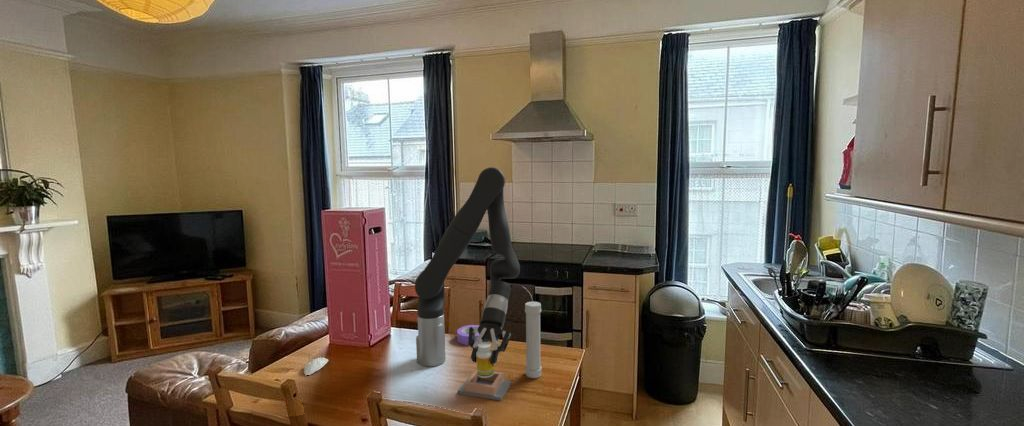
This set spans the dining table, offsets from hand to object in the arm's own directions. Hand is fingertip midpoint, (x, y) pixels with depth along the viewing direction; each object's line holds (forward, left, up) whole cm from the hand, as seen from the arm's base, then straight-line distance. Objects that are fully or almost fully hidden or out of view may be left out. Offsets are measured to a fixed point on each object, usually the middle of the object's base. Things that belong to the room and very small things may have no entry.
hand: (482, 362), depth 125 cm
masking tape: (-19, +36, -10) cm, 42 cm away
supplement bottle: (0, +2, -5) cm, 5 cm away
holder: (0, +2, -9) cm, 10 cm away
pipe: (+12, +14, -10) cm, 21 cm away
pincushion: (-62, -2, -10) cm, 63 cm away
